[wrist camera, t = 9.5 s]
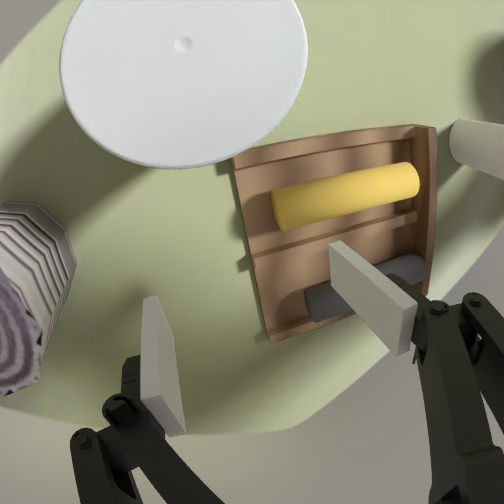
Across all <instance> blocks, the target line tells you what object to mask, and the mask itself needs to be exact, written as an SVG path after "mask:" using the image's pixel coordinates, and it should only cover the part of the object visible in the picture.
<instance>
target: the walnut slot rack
mask: <svg viewBox="0 0 504 504" xmlns="http://www.w3.org/2000/svg"><path fill="white" fill-rule="evenodd" d="M231 162H232V167H233V171H234V176H235V181H236V186H237V191H238V196H239V201H240V206H241V210H242V215H243V220H244V225H245V230H246V235H247V239H248V244H249V249H250V254H251V259H252V264H253V269H254V273H255V278H256V283H257V288H258V293H259V298H260V302H261V307H262V312H263V317H264V322H265V326H266V331H267V336H268V338H269V340H270V342H271V344H272V343H275V342H278V341H281V340H284V339H287V338H290V337H293V336H296V335H299V334H302V333H305V332H307V331H310V330H313V329H316V328H319V327H321V326H324V325H327V324H329V323H332V322H335V321H337V320H340V319H343V318H345V317H348V316H350V315H353V314H356V312H355V311H354V310H350V311H348V312H345V313H342V314H340V315H337V316H334V317H332V318H329V319H326V320H324V321H321V322H318V323H315V322H314V321H313V320H312V319H311V317H310V315H309V313H308V310H307V307H306V304H305V299H304V291H305V289H308V288H311V287H314V286H317V285H320V284H323V283H326V282H329V281H331V276H330V261H329V247H328V244H330V243H333V242H336V241H340V240H341V241H342V242H343V243H344V244H346V245H347V246H348V247H350V248H351V249H352V250H353V251H355V252H356V253H357V254H359V255H360V256H361V257H362V258H364V259H365V260H366V261H367V262H369V263H370V264H371V265H372V266H375V265H378V264H381V263H383V262H386V261H389V260H392V259H394V258H397V257H400V256H402V255H405V254H408V253H410V252H417V253H419V254H420V255H421V256H422V258H423V260H424V262H425V265H426V276H425V278H424V280H422V281H420V282H418V283H415V284H413V285H411V286H412V287H414V288H415V289H416V290H418V291H419V292H420V293H421V294H423V295H424V296H426V295H427V294H428V287H429V281H430V273H431V266H432V257H433V248H434V237H435V225H436V208H437V134H436V128H435V127H429V126H423V125H416V124H410V125H398V126H387V127H378V128H369V129H361V130H353V131H345V132H338V133H331V134H324V135H318V136H312V137H306V138H300V139H294V140H289V141H283V142H278V143H273V144H268V145H263V146H258V147H253V148H249V149H247V150H245V151H243V152H241V153H240V154H238V155H236V156H233V157H231ZM401 162H408V163H410V164H411V165H412V166H413V167H414V168H415V169H416V171H417V173H418V176H419V182H420V186H419V191H418V193H417V194H416V195H415V196H414V197H411V198H407V199H403V200H399V201H396V202H392V203H388V204H384V205H380V206H377V207H373V208H369V209H365V210H362V211H358V212H354V213H350V214H347V215H343V216H339V217H335V218H332V219H328V220H324V221H321V222H317V223H313V224H310V225H306V226H302V227H299V228H295V229H291V230H288V231H282V230H281V229H280V227H279V225H278V223H277V221H276V218H275V215H274V212H273V207H272V201H271V192H272V190H273V189H276V188H281V187H285V186H289V185H294V184H298V183H302V182H307V181H311V180H316V179H320V178H325V177H330V176H334V175H339V174H344V173H349V172H354V171H359V170H364V169H369V168H374V167H380V166H385V165H390V164H396V163H401Z"/></svg>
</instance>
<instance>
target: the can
mask: <svg viewBox="0 0 504 504" xmlns="http://www.w3.org/2000/svg"><path fill="white" fill-rule="evenodd" d="M76 264H77V262H76V259H75V256H74V253H73V250H72V247H71V244H70V241H69V238H68V235H67V232H66V228H65V227H64V226H63V225H61V224H60V223H59V222H58V221H57V220H56V219H55V218H53V217H52V216H51V215H50V214H49V213H48V212H47V211H46V210H44V209H43V208H42V207H41V206H40V205H39V204H37V203H21V202H6V203H4V204H3V205H1V206H0V395H1V396H6V395H9V394H11V393H14V392H16V391H18V390H21V389H23V388H25V387H28V386H30V385H32V384H34V383H37V382H39V381H40V365H41V361H42V358H43V355H44V353H45V350H46V347H47V344H48V342H49V339H50V337H51V334H52V331H53V329H54V326H55V324H56V321H57V319H58V317H59V314H60V312H61V309H62V307H63V305H64V302H65V300H66V298H67V296H68V293H69V290H70V286H71V282H72V279H73V275H74V271H75V268H76Z"/></svg>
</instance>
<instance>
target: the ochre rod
mask: <svg viewBox="0 0 504 504" xmlns="http://www.w3.org/2000/svg"><path fill="white" fill-rule="evenodd" d="M419 186H420V182H419V176H418V173H417V171H416V169H415V168H414V167H413V166H412V165H411V164H410V163H408V162H401V163H396V164H390V165H385V166H380V167H374V168H369V169H364V170H359V171H354V172H349V173H344V174H339V175H334V176H330V177H325V178H320V179H316V180H311V181H307V182H302V183H298V184H294V185H289V186H285V187H281V188H276V189H273V190H272V192H271V201H272V207H273V212H274V215H275V218H276V221H277V223H278V225H279V227H280V229H281V230H282V231H288V230H291V229H295V228H299V227H302V226H306V225H310V224H313V223H317V222H321V221H324V220H328V219H332V218H335V217H339V216H343V215H347V214H350V213H354V212H358V211H362V210H365V209H369V208H373V207H377V206H380V205H384V204H388V203H392V202H396V201H399V200H403V199H407V198H411V197H414V196H415V195H416V194H417V193H418V191H419Z"/></svg>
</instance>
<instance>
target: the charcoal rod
mask: <svg viewBox="0 0 504 504" xmlns="http://www.w3.org/2000/svg"><path fill="white" fill-rule="evenodd" d="M374 267H375V268H376V269H377V270H379V271H380V272H381V273H382V274H384V275H387V274H390V273H392V274H395V275H397V276H400V277H401V278H402V279H404V280H405V281H406V282H407V283H409V284H410V285H413V284H415V283H418V282H420V281H422V280H424V278H425V276H426V265H425V262H424V260H423V258H422V256H421V255H420V254H419V253H417V252H410V253H408V254H405V255H402V256H400V257H397V258H394V259H392V260H389V261H386V262H383V263H381V264H378V265H375V266H374ZM304 299H305V304H306V307H307V310H308V313H309V315H310V317H311V319H312V320H313V321H314V322H315V323H318V322H321V321H324V320H326V319H329V318H332V317H334V316H337V315H340V314H342V313H345V312H348V311H350V310H353V309H352V308H351V307H350V305H349V304H348V303H347V302H346V301H345V300H344V299H343V298H342V297H341V296H340V295H339V294H338V292H337V291H336V290H335V289H334V288H333V287H332V286H331V281H329V282H326V283H323V284H320V285H317V286H314V287H311V288H308V289H305V291H304Z"/></svg>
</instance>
